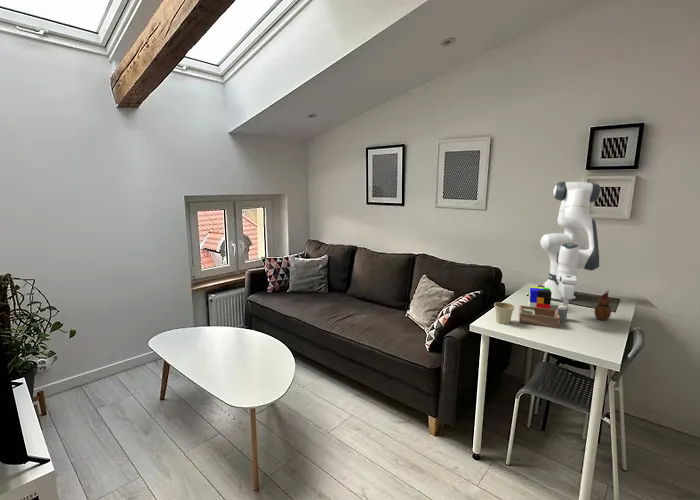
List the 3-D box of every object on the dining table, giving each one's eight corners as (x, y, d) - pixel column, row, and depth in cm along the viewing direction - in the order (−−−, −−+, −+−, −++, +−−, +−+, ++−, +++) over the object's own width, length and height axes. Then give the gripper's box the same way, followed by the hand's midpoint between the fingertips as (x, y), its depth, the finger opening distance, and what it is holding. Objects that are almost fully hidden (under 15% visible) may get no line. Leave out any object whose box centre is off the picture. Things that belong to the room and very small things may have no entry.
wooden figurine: (605, 317, 186) (609, 289, 184) (612, 321, 181) (616, 292, 178) (591, 316, 187) (594, 288, 184) (597, 320, 181) (601, 292, 179)
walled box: (518, 314, 190) (519, 305, 189) (555, 319, 183) (556, 309, 182) (519, 322, 178) (520, 313, 177) (558, 328, 171) (560, 318, 170)
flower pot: (504, 327, 173) (505, 309, 171) (488, 320, 181) (490, 304, 180) (517, 323, 177) (519, 306, 176) (501, 317, 185) (503, 301, 184)
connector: (556, 317, 186) (557, 304, 184) (565, 318, 184) (566, 305, 183) (557, 320, 182) (558, 306, 181) (566, 321, 180) (567, 308, 179)
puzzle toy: (529, 308, 200) (531, 290, 198) (528, 302, 209) (529, 286, 207) (549, 310, 196) (551, 292, 195) (547, 304, 206) (549, 287, 204)
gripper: (556, 271, 189) (554, 297, 192) (562, 280, 171) (559, 308, 173) (570, 272, 187) (567, 298, 189) (577, 281, 168) (574, 310, 170)
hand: (563, 303), depth 181 cm, fingers open, 8 cm apart
